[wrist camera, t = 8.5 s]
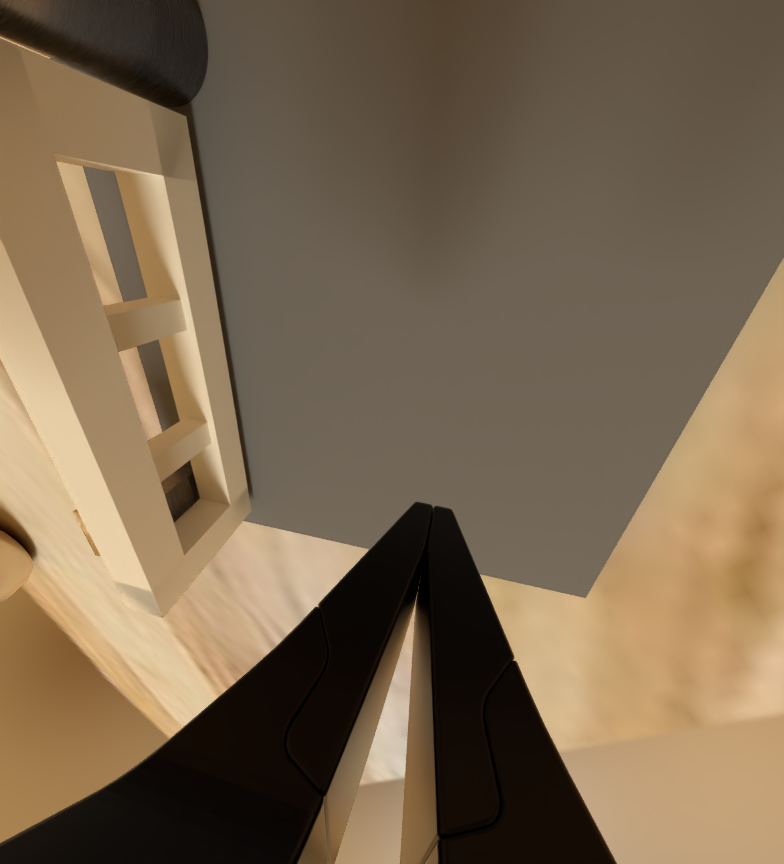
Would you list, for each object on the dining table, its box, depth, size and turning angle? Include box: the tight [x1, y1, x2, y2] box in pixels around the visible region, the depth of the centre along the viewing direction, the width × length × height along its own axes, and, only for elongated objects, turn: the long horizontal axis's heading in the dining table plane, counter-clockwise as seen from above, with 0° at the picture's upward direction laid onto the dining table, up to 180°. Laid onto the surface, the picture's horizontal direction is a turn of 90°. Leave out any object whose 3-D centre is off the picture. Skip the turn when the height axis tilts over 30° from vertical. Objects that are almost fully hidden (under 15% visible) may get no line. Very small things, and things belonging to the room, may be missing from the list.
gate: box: [0, 39, 251, 618], centre depth 12 cm, size 16×2×6 cm, turn 175°
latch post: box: [73, 460, 200, 556], centre depth 16 cm, size 2×2×6 cm
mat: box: [50, 0, 784, 598], centre depth 13 cm, size 22×22×1 cm
